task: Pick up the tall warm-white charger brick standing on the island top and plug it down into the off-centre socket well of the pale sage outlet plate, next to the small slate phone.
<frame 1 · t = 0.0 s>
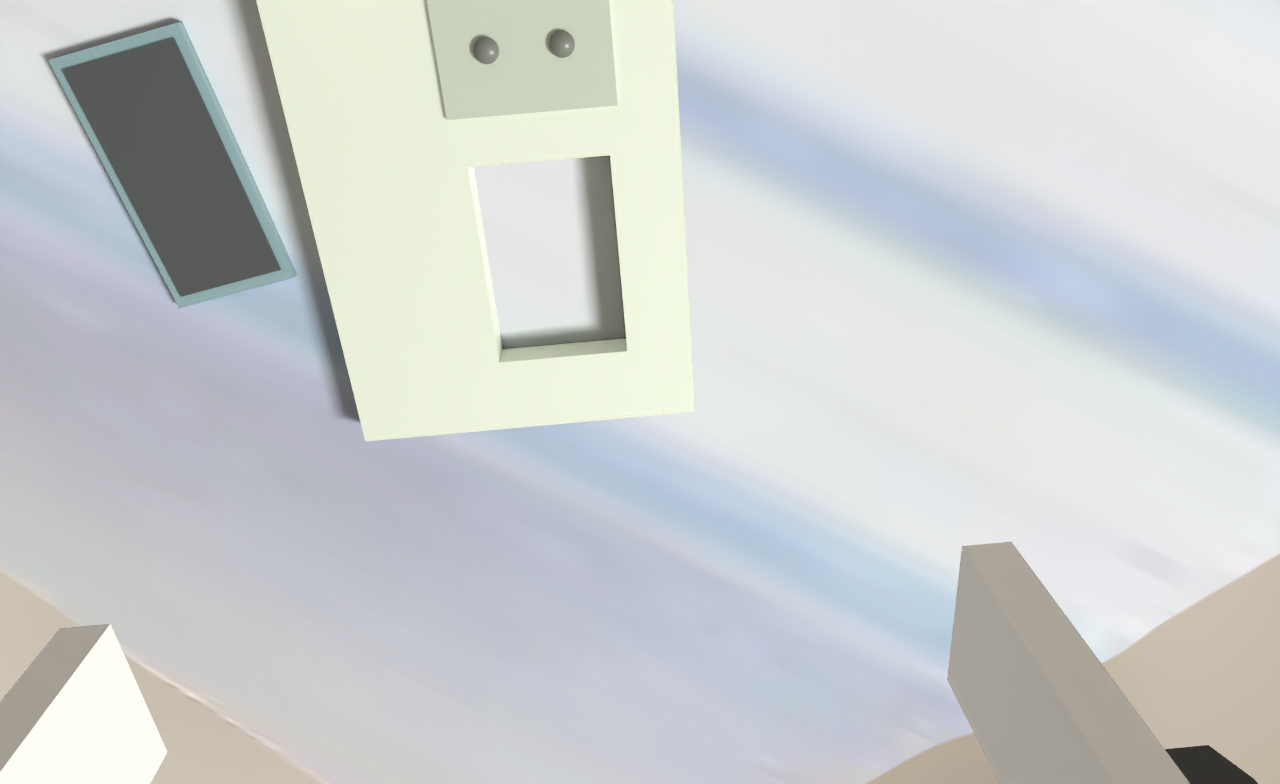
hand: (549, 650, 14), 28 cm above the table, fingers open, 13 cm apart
outlet plate: (500, 192, 38), on the table
phone: (188, 170, 38), on the table
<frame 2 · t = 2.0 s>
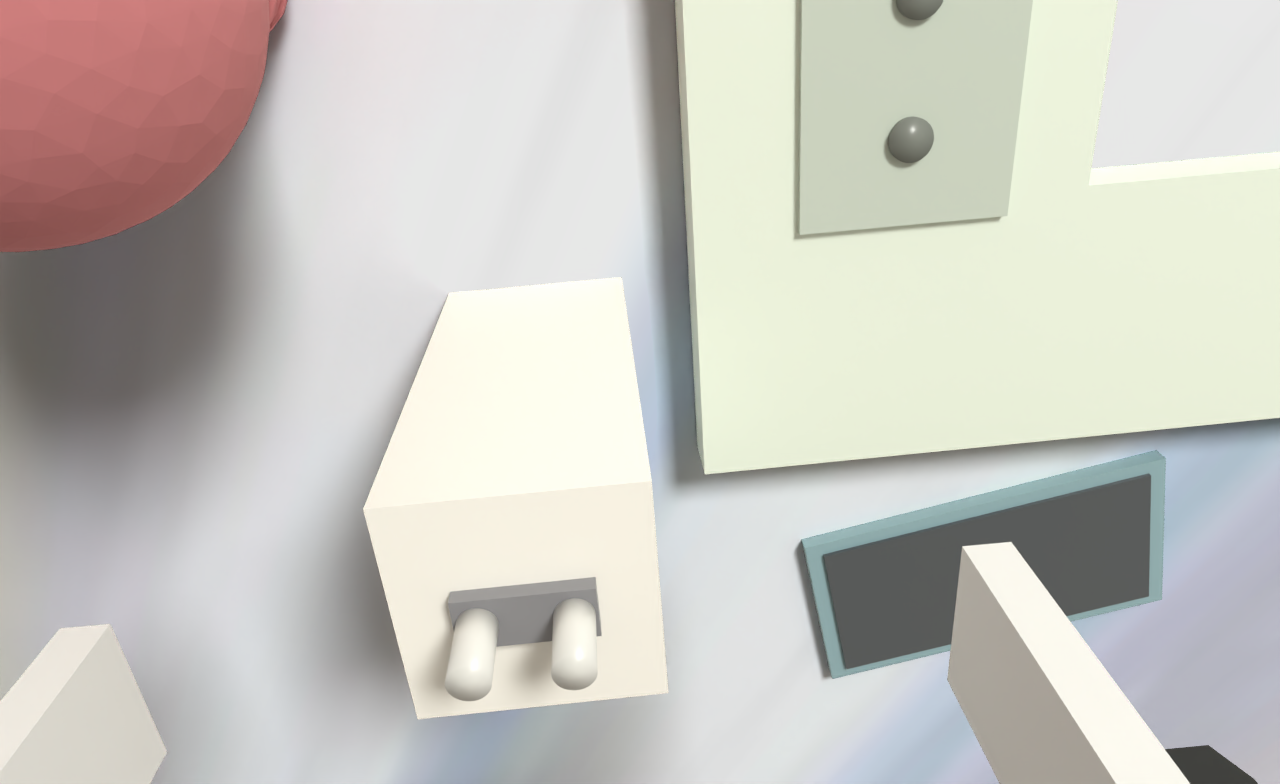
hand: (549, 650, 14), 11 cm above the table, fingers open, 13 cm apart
charger: (546, 363, 23), on the table
outlet plate: (1119, 126, 21), on the table
phone: (976, 555, 28), on the table
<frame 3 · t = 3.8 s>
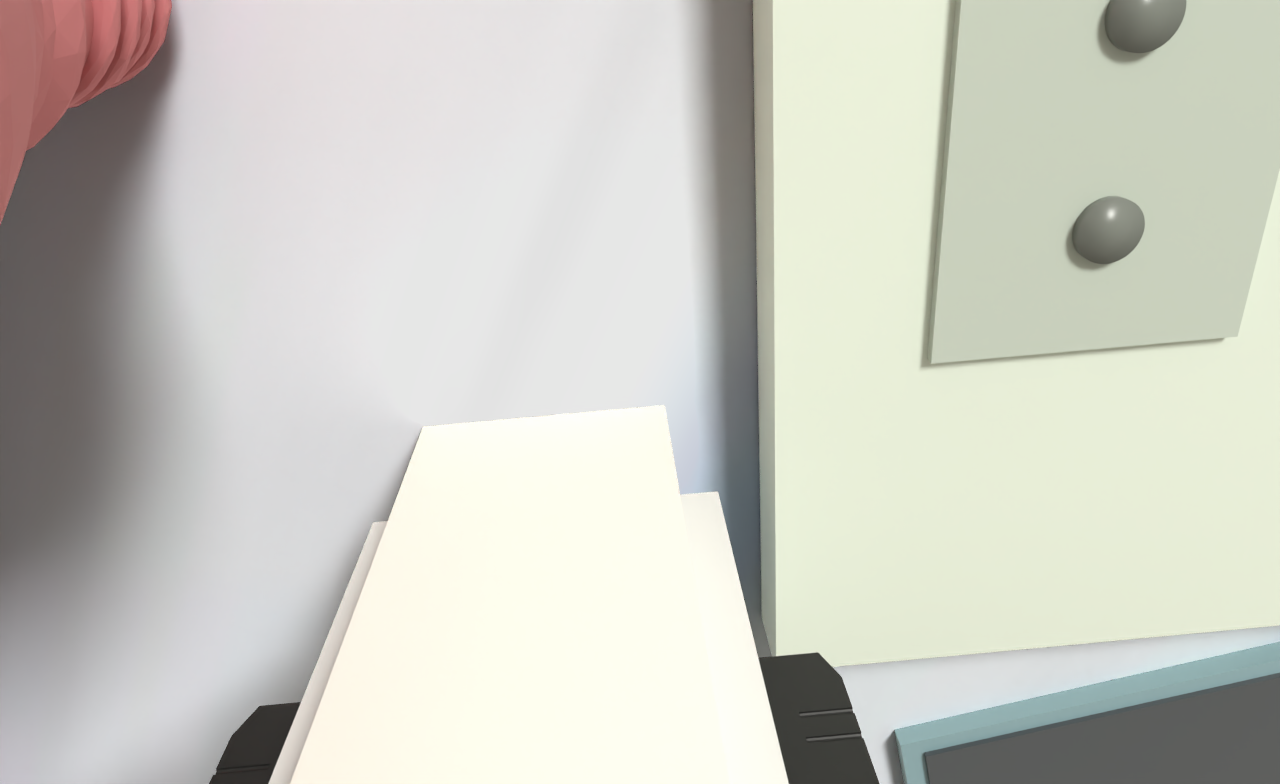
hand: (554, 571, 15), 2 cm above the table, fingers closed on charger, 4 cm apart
charger: (558, 516, 17), on the table, touching gripper
phone: (1119, 740, 21), on the table
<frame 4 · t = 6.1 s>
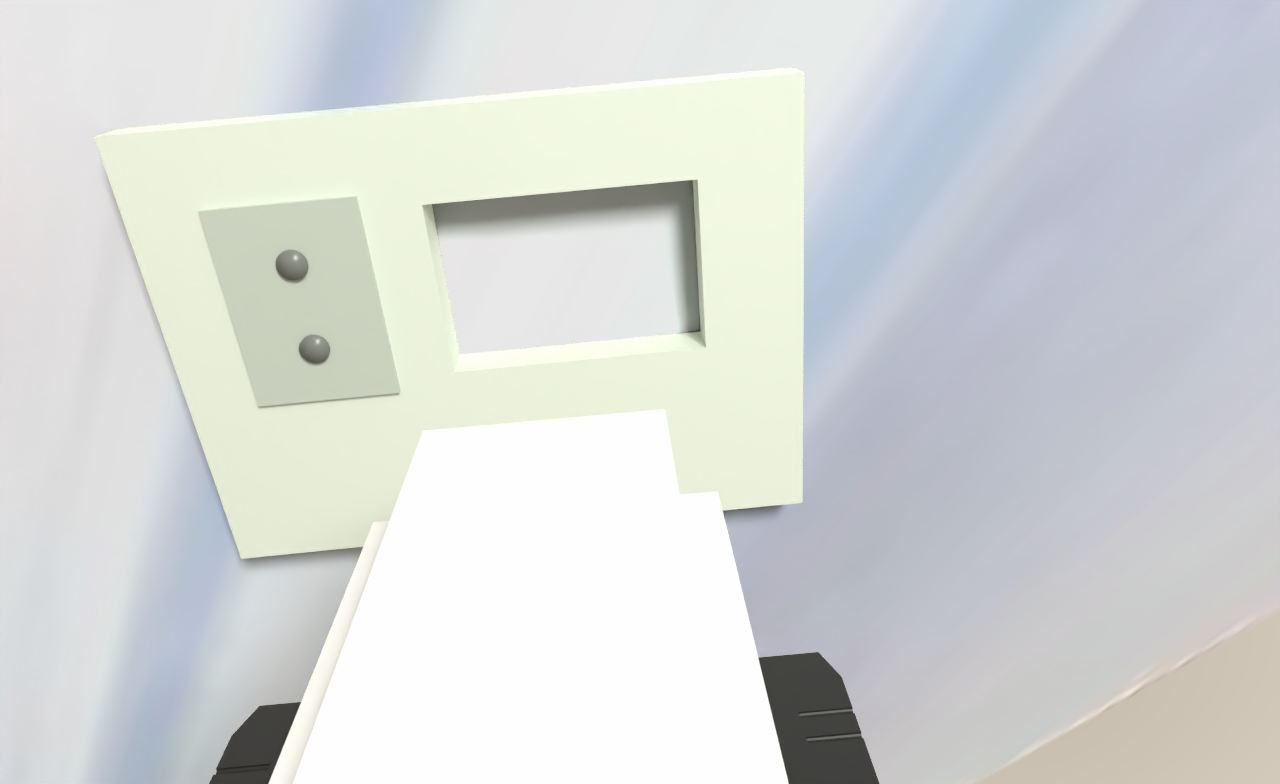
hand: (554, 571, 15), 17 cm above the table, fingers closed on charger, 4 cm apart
charger: (558, 520, 17), point 15 cm above the table, touching gripper
outlet plate: (496, 325, 31), on the table
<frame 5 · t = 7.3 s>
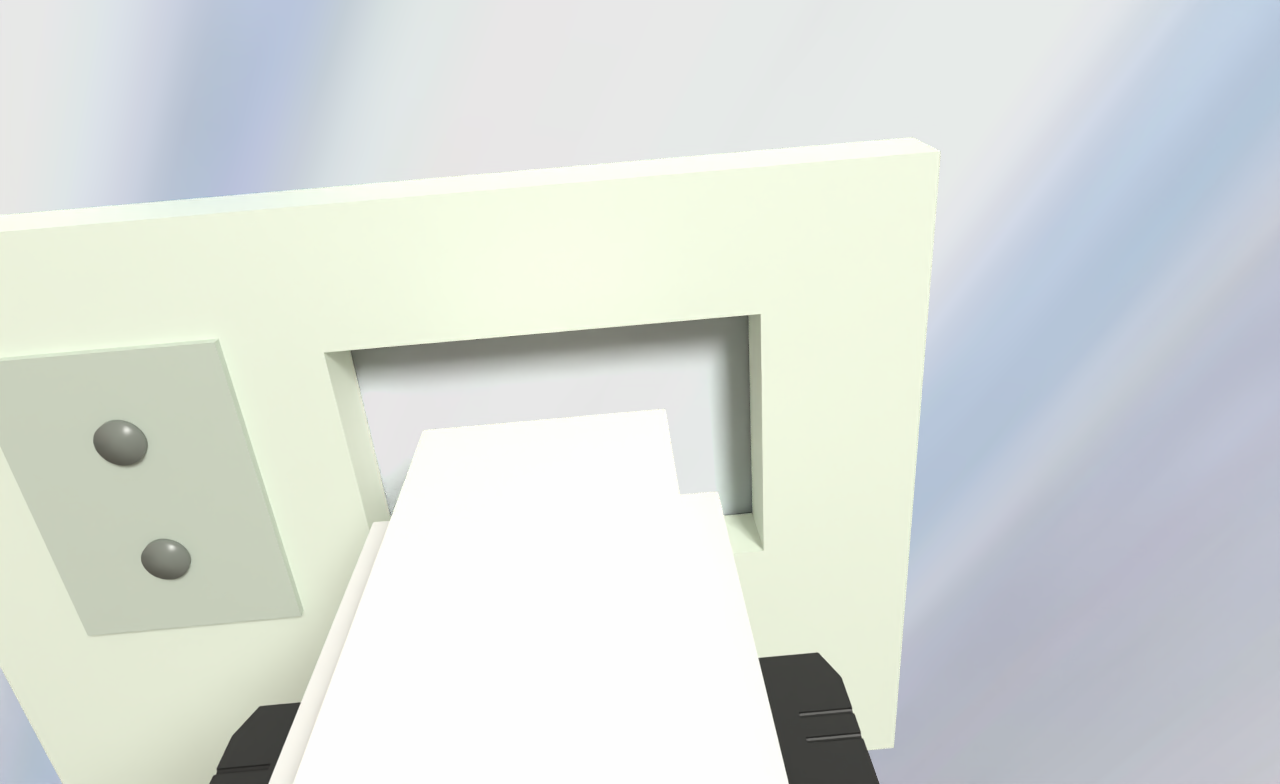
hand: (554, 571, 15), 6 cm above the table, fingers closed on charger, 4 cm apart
charger: (558, 520, 17), point 4 cm above the table, touching gripper
outlet plate: (450, 506, 21), on the table
when the fingers open (3 cm above the table, at t = 8.4 s): charger drops 1 cm, resting in outlet plate.
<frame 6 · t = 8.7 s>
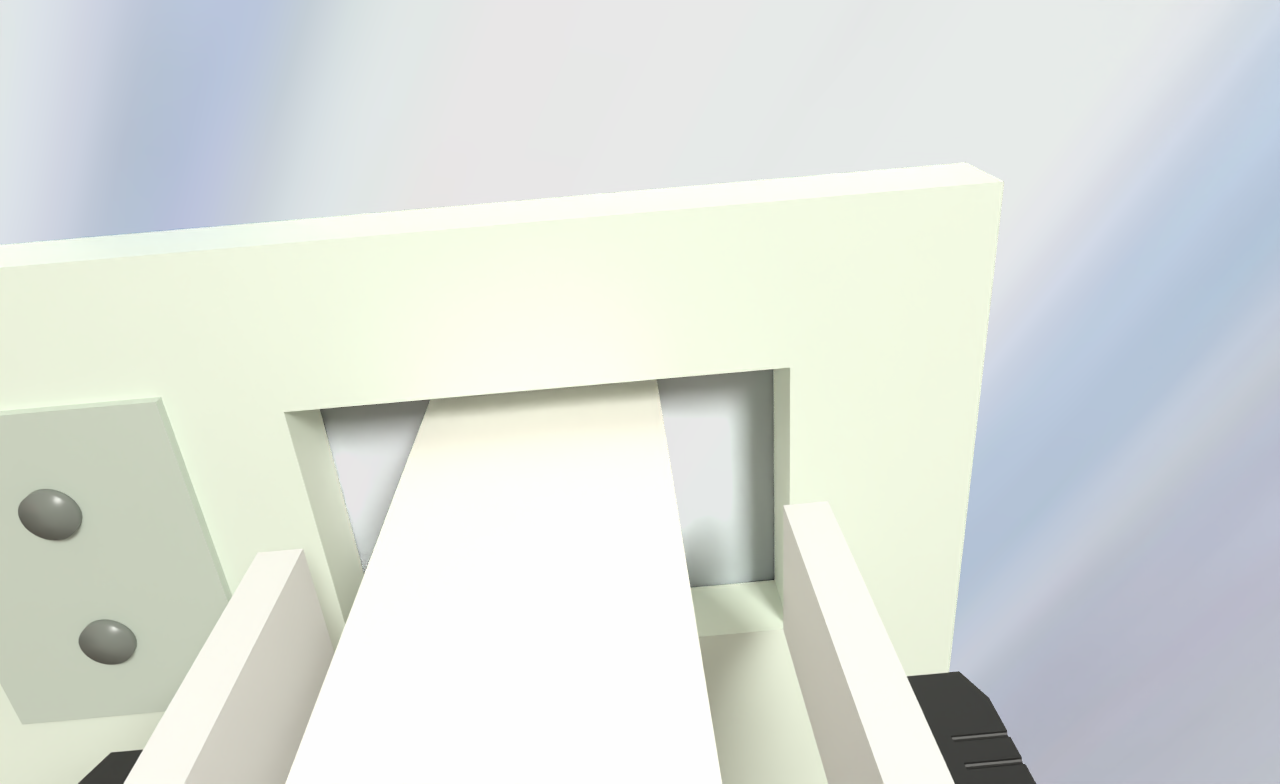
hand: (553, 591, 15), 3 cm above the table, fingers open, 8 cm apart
charger: (556, 485, 18), resting in outlet plate
outlet plate: (434, 574, 19), on the table
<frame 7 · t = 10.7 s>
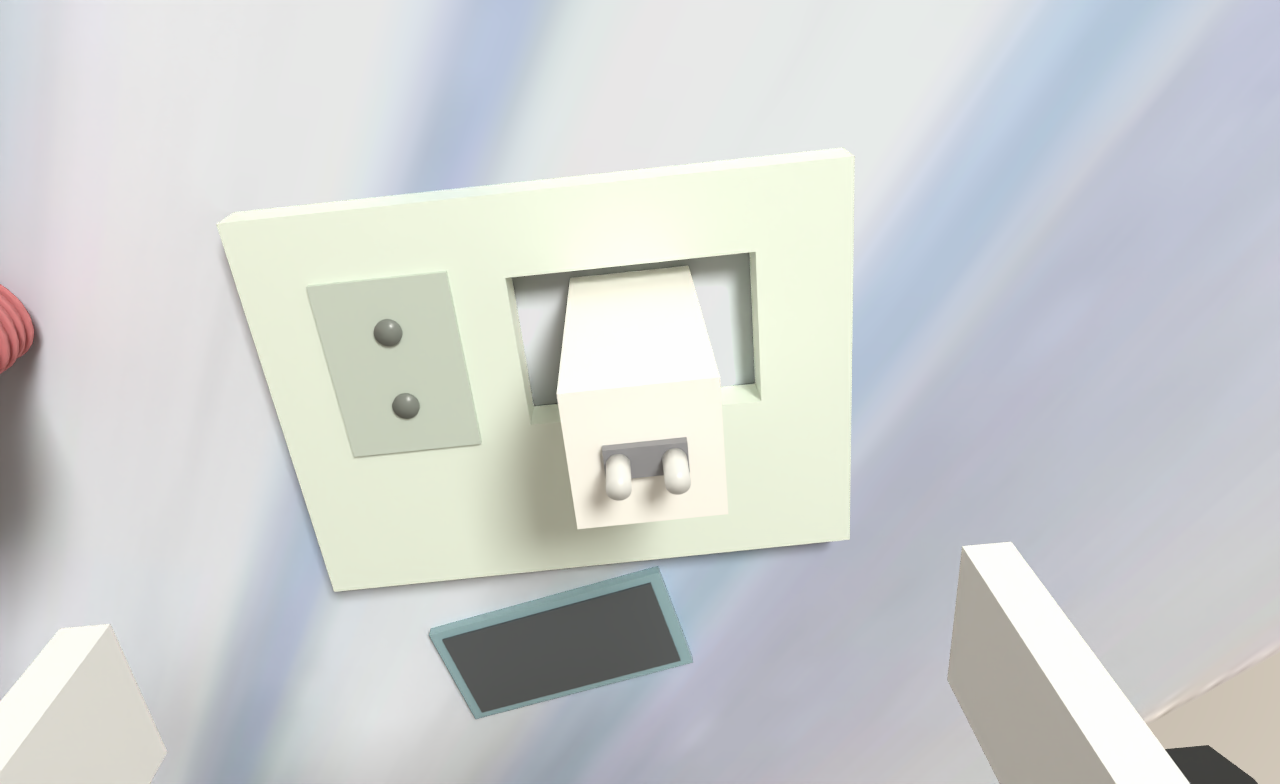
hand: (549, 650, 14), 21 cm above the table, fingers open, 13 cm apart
charger: (635, 326, 33), resting in outlet plate
outlet plate: (567, 380, 34), on the table
phone: (564, 634, 41), on the table
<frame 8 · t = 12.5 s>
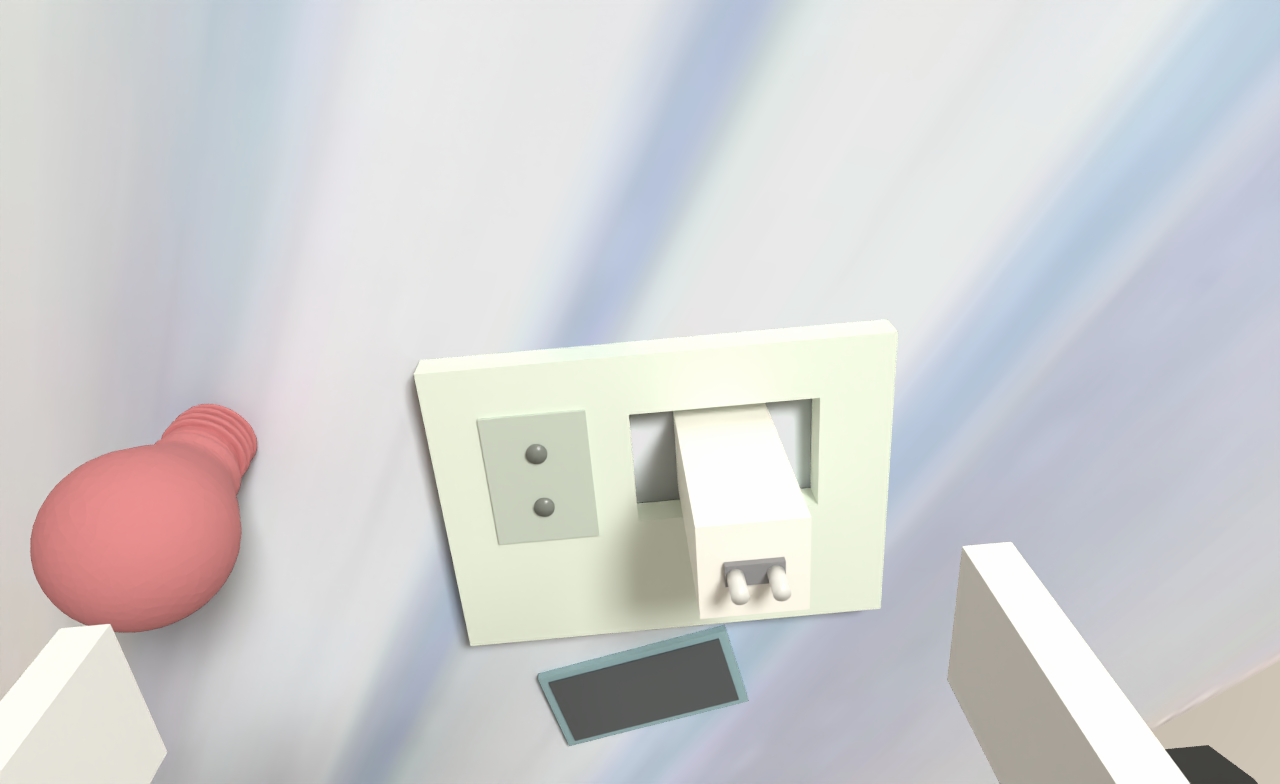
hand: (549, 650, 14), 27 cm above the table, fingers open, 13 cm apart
light bulb: (225, 433, 41), on the table
charger: (720, 445, 43), resting in outlet plate
outlet plate: (664, 484, 44), on the table
phone: (644, 677, 50), on the table
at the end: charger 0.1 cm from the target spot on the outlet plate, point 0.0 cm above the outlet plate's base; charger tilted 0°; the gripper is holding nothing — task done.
